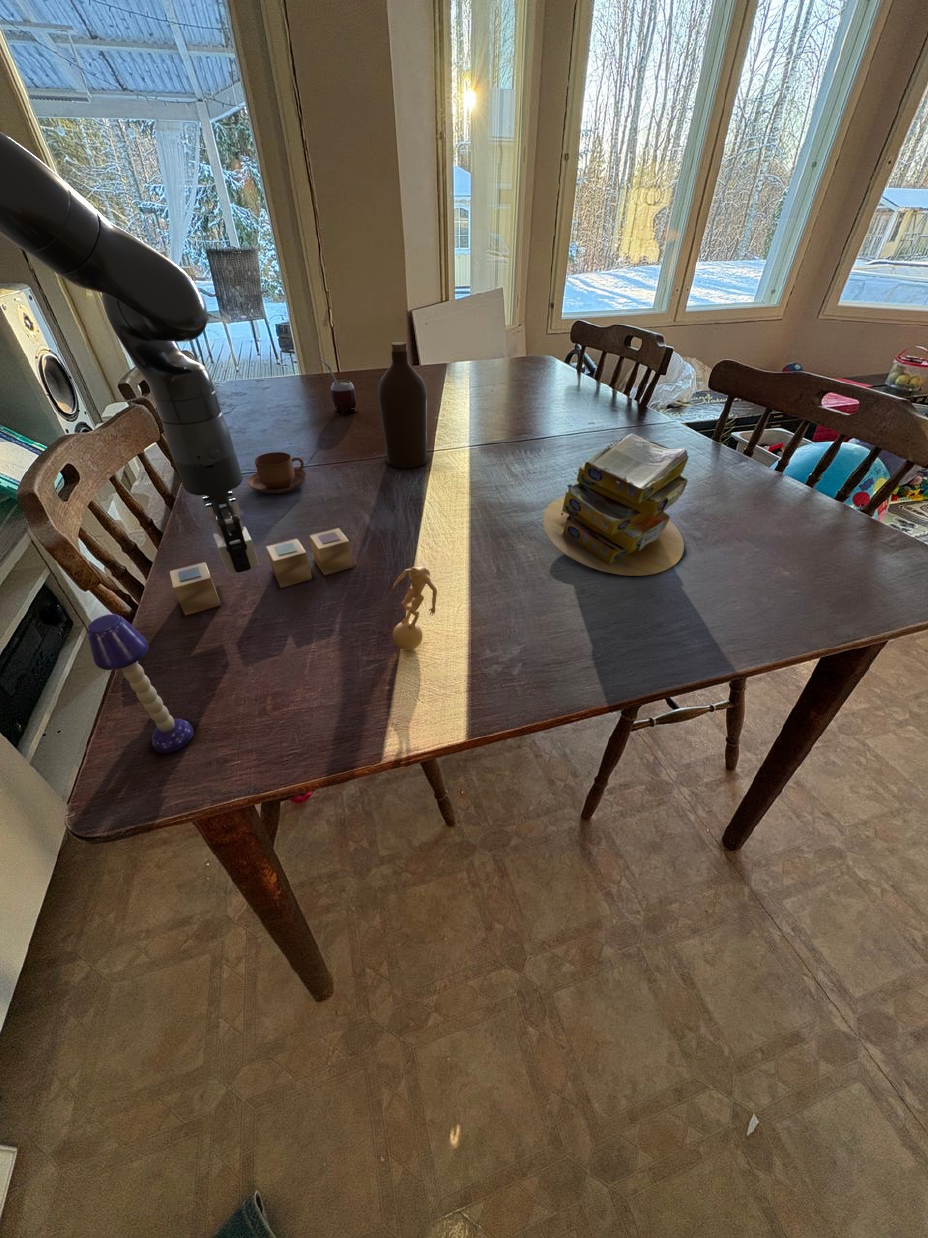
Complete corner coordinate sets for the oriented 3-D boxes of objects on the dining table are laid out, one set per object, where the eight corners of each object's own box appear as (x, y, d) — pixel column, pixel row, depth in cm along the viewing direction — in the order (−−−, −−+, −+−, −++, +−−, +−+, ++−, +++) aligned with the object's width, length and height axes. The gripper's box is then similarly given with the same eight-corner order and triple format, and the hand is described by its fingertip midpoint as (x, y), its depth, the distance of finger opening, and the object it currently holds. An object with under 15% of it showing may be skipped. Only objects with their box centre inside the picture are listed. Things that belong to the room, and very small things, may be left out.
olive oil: (396, 473, 115) (385, 350, 100) (377, 458, 123) (364, 341, 107) (437, 463, 120) (433, 344, 104) (417, 449, 127) (410, 336, 111)
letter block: (227, 574, 75) (218, 547, 72) (222, 560, 78) (212, 533, 75) (259, 566, 77) (251, 538, 74) (253, 552, 80) (244, 525, 77)
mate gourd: (360, 408, 154) (353, 353, 144) (352, 416, 148) (345, 359, 138) (336, 407, 154) (328, 352, 145) (328, 415, 148) (318, 358, 139)
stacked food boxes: (713, 550, 89) (746, 456, 78) (608, 593, 79) (629, 492, 68) (612, 497, 105) (628, 413, 95) (514, 527, 95) (520, 438, 85)
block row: (185, 615, 75) (172, 587, 72) (181, 598, 78) (169, 570, 75) (353, 567, 85) (349, 540, 82) (343, 553, 88) (338, 527, 85)
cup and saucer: (283, 471, 117) (276, 444, 113) (319, 483, 111) (314, 455, 108) (238, 489, 109) (230, 461, 105) (275, 503, 104) (268, 474, 100)
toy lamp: (143, 758, 55) (68, 642, 45) (152, 726, 59) (84, 611, 48) (191, 748, 56) (128, 633, 46) (196, 717, 60) (139, 603, 49)
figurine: (378, 638, 71) (368, 565, 63) (413, 620, 74) (407, 548, 66) (416, 669, 66) (409, 593, 59) (451, 648, 69) (449, 574, 62)
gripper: (166, 439, 70) (206, 547, 81) (178, 476, 60) (222, 593, 71) (223, 430, 73) (254, 535, 84) (244, 463, 63) (276, 578, 74)
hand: (239, 561), depth 77 cm, fingers closed on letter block, 4 cm apart
